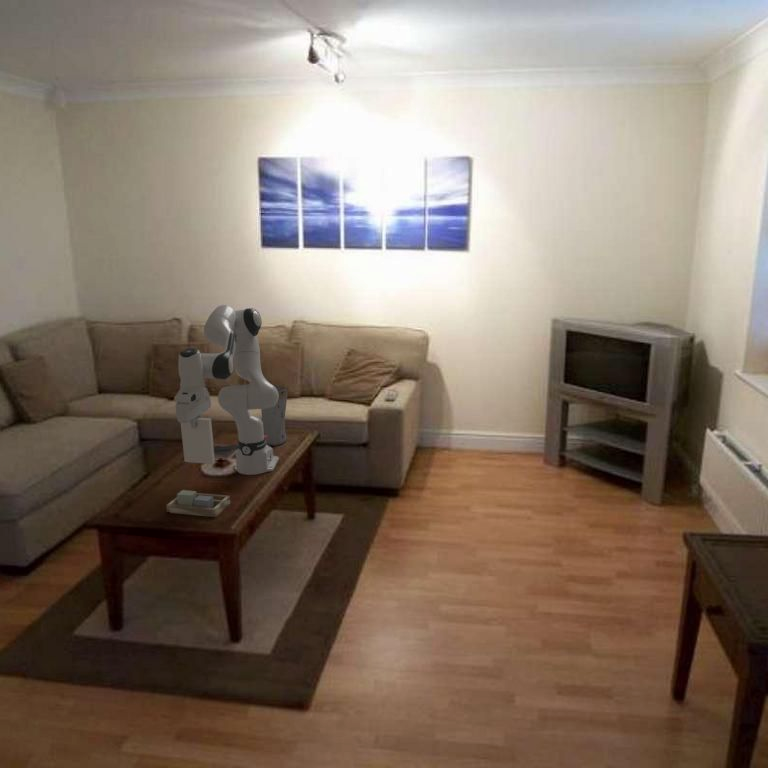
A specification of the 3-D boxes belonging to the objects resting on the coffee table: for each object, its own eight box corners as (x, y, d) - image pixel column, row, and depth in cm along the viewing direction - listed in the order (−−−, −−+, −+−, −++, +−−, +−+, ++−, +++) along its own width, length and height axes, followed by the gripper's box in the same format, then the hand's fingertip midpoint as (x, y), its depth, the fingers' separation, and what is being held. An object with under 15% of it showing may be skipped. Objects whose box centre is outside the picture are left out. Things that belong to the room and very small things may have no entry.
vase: (286, 447, 324) (284, 391, 317) (258, 446, 325) (256, 391, 317) (290, 438, 337) (289, 384, 330) (263, 437, 337) (261, 384, 330)
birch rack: (183, 498, 268) (183, 491, 267) (230, 502, 264) (229, 495, 263) (167, 512, 256) (166, 505, 255) (215, 517, 252) (214, 509, 251)
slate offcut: (200, 508, 260) (198, 495, 258) (214, 509, 258) (213, 496, 257) (195, 512, 256) (193, 499, 254) (209, 514, 254) (208, 500, 253)
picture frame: (241, 450, 322) (200, 447, 327) (241, 445, 322) (200, 442, 326) (227, 462, 307) (184, 459, 311) (227, 457, 306) (184, 454, 310)
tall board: (186, 460, 261) (182, 416, 256) (214, 462, 258) (211, 418, 253) (184, 461, 259) (180, 418, 254) (212, 464, 257) (208, 420, 252)
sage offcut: (183, 506, 261) (182, 490, 259) (197, 507, 260) (196, 491, 258) (178, 510, 257) (176, 494, 255) (192, 512, 256) (191, 495, 254)
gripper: (198, 384, 261) (201, 417, 265) (171, 399, 242) (175, 434, 246) (213, 385, 260) (216, 418, 264) (187, 400, 241) (190, 435, 245)
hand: (196, 426), depth 255 cm, fingers closed on tall board, 2 cm apart
